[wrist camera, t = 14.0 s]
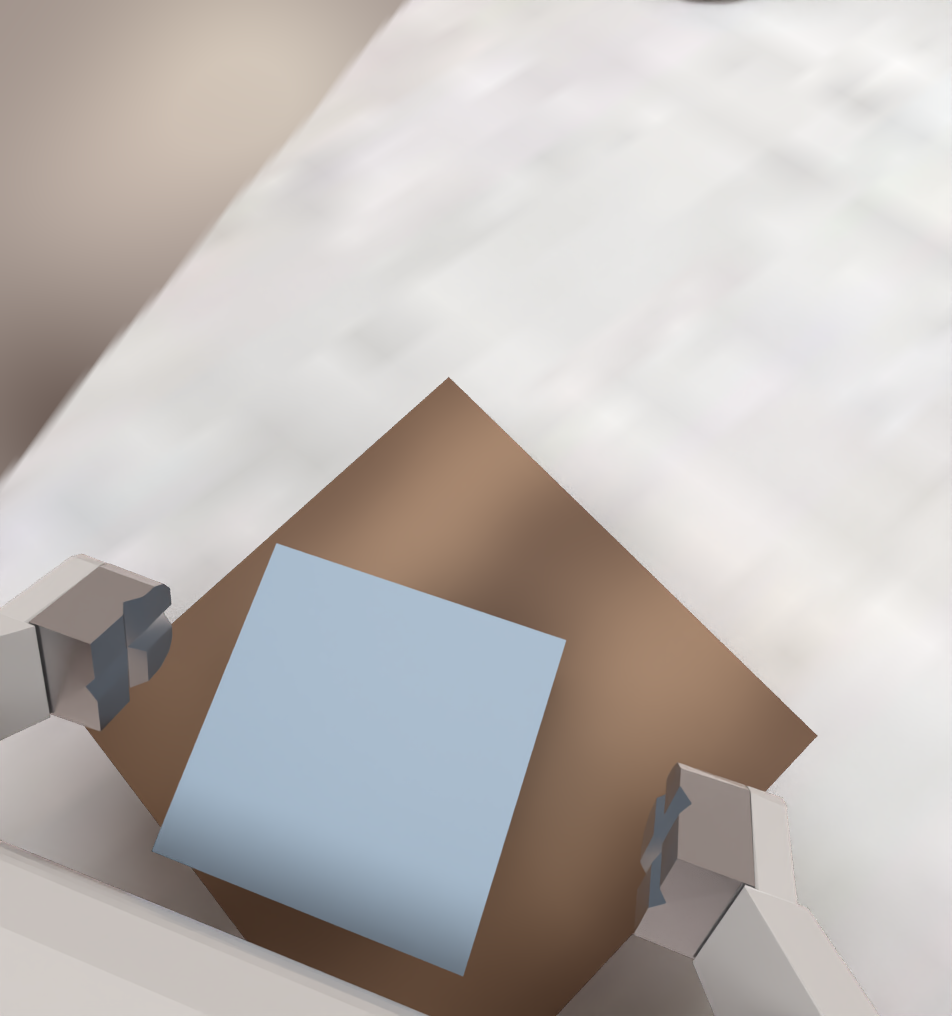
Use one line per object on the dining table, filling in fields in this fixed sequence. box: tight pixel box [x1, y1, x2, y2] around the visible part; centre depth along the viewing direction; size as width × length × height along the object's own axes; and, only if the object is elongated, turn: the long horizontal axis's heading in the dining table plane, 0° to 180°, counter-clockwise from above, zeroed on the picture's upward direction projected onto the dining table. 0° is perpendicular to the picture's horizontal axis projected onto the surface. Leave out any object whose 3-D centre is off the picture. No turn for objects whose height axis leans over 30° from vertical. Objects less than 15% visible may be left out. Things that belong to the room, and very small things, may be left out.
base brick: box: [85, 377, 817, 1016], centre depth 19 cm, size 12×12×4 cm
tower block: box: [152, 543, 566, 976], centre depth 13 cm, size 4×4×8 cm
